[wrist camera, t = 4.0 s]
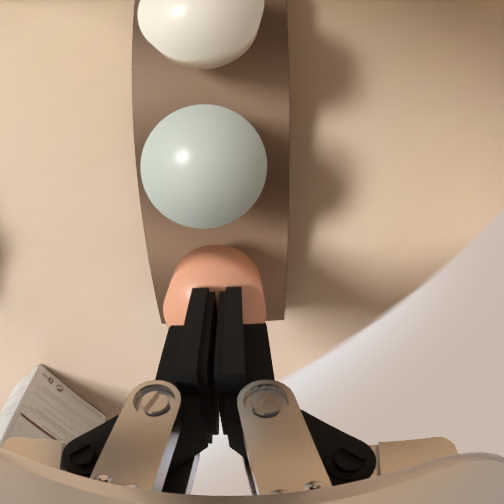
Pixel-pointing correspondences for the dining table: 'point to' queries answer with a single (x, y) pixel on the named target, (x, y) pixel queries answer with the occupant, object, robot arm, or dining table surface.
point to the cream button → (200, 29)
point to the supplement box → (46, 410)
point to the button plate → (250, 108)
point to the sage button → (203, 166)
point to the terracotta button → (215, 282)
